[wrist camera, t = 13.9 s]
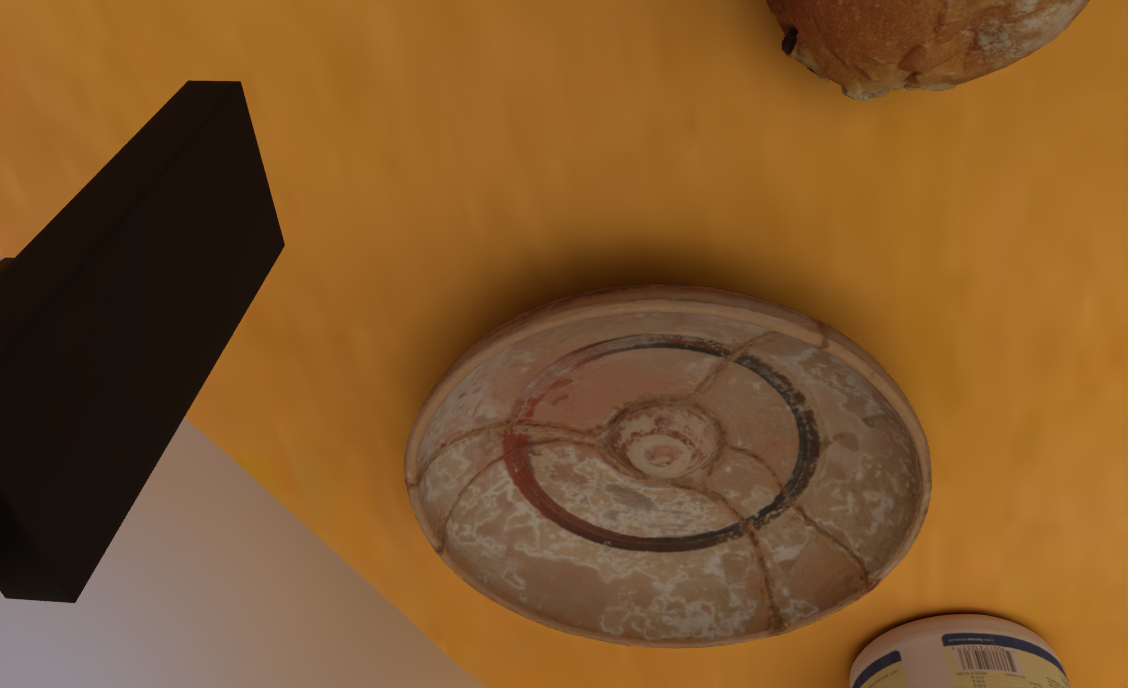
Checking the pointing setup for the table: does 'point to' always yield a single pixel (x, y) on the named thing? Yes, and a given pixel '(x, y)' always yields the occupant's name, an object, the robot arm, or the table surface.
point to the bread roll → (915, 39)
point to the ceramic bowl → (668, 467)
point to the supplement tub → (958, 656)
